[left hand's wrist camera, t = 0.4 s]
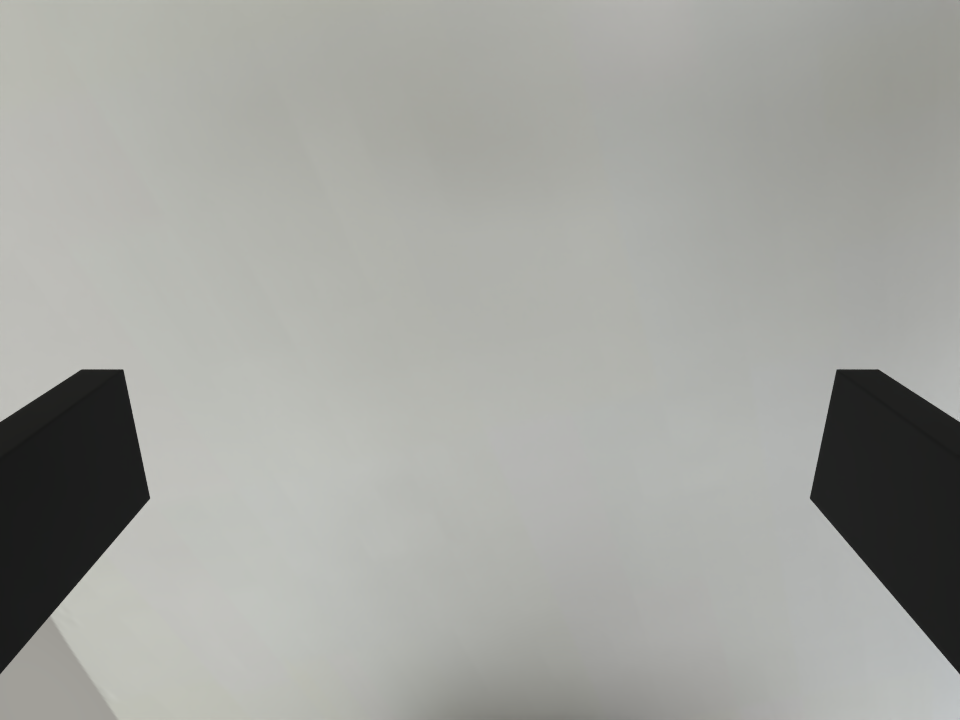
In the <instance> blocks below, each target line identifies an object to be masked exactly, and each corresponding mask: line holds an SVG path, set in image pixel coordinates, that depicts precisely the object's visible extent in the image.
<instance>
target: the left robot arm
mask: <svg viewBox="0 0 960 720" xmlns="http://www.w3.org/2000/svg"><path fill="white" fill-rule="evenodd" d="M149 499H150V496H149V491H148V486H147V481H146V476H145V472H144V467H143V462H142V457H141V452H140V448H139V443H138V438H137V433H136V428H135V423H134V419H133V414H132V409H131V404H130V399H129V395H128V390H127V385H126V380H125V375H124V371H123V370H80V371H79V372H77V373H76V374H74V375H72V376H71V377H69V378H68V379H66V380H65V381H63V382H62V383H60V384H59V385H57V386H55V387H54V388H52V389H51V390H49V391H48V392H46V393H45V394H43V395H42V396H40V397H38V398H37V399H35V400H34V401H32V402H31V403H29V404H28V405H26V406H25V407H23V408H21V409H20V410H18V411H17V412H15V413H14V414H12V415H11V416H9V417H8V418H6V419H4V420H3V421H1V422H0V674H1V673H2V671H3V670H4V669H5V668H6V667H7V665H8V664H9V663H10V662H11V661H12V660H13V658H14V657H15V656H16V655H17V654H18V652H19V651H20V650H21V649H22V648H23V647H24V646H25V644H26V643H27V642H28V641H29V640H30V639H31V637H32V636H33V635H34V634H35V633H36V631H37V630H38V629H39V628H40V627H41V626H42V624H43V623H44V622H45V621H46V620H47V619H48V617H49V616H50V615H51V614H52V613H53V612H54V610H55V609H56V608H57V607H58V606H59V605H60V603H61V602H62V601H63V600H64V599H65V598H66V596H67V595H68V594H69V593H70V592H71V590H72V589H73V588H74V587H75V586H76V585H77V583H78V582H79V581H80V580H81V579H82V578H83V576H84V575H85V574H86V573H87V572H88V571H89V569H90V568H91V567H92V566H93V565H94V564H95V562H96V561H97V560H98V559H99V558H100V557H101V555H102V554H103V553H104V552H105V551H106V549H107V548H108V547H109V546H110V545H111V544H112V542H113V541H114V540H115V539H116V538H117V537H118V535H119V534H120V533H121V532H122V531H123V530H124V528H125V527H126V526H127V525H128V524H129V523H130V521H131V520H132V519H133V518H134V517H135V516H136V514H137V513H138V512H139V511H140V510H141V508H142V507H143V506H144V505H145V504H146V503H147V501H148V500H149ZM810 499H811V500H812V501H813V503H814V504H815V505H816V506H817V507H818V508H819V510H820V511H821V512H822V513H823V514H824V516H825V517H826V518H827V519H828V520H829V521H830V523H831V524H832V525H833V526H834V527H835V528H836V530H837V531H838V532H839V533H840V534H841V535H842V537H843V538H844V539H845V540H846V541H847V542H848V544H849V545H850V546H851V547H852V548H853V549H854V551H855V552H856V553H857V554H858V555H859V557H860V558H861V559H862V560H863V561H864V562H865V564H866V565H867V566H868V567H869V568H870V569H871V571H872V572H873V573H874V574H875V575H876V576H877V578H878V579H879V580H880V581H881V582H882V583H883V585H884V586H885V587H886V588H887V589H888V590H889V592H890V593H891V594H892V595H893V596H894V598H895V599H896V600H897V601H898V602H899V603H900V605H901V606H902V607H903V608H904V609H905V610H906V612H907V613H908V614H909V615H910V616H911V617H912V619H913V620H914V621H915V622H916V623H917V624H918V626H919V627H920V628H921V629H922V630H923V632H924V633H925V634H926V635H927V636H928V637H929V639H930V640H931V641H932V642H933V643H934V644H935V646H936V647H937V648H938V649H939V650H940V651H941V653H942V654H943V655H944V656H945V657H946V658H947V660H948V661H949V662H950V663H951V664H952V665H953V667H954V668H955V669H956V670H957V671H958V673H959V674H960V422H959V421H957V420H956V419H954V418H952V417H951V416H949V415H948V414H946V413H945V412H943V411H942V410H940V409H939V408H937V407H935V406H934V405H932V404H931V403H929V402H928V401H926V400H925V399H923V398H922V397H920V396H918V395H917V394H915V393H914V392H912V391H911V390H909V389H908V388H906V387H905V386H903V385H901V384H900V383H898V382H897V381H895V380H894V379H892V378H891V377H889V376H888V375H886V374H884V373H883V372H881V371H880V370H837V371H836V375H835V380H834V385H833V390H832V395H831V399H830V404H829V409H828V414H827V419H826V423H825V428H824V433H823V438H822V443H821V448H820V452H819V457H818V462H817V467H816V472H815V476H814V481H813V486H812V491H811V496H810Z"/></svg>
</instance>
